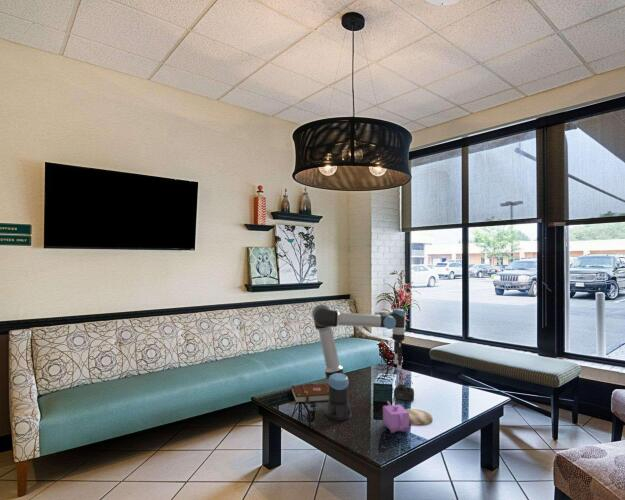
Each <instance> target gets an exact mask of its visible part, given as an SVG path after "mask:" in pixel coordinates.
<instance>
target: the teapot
mask: <svg viewBox="0 0 625 500" xmlns="http://www.w3.org/2000/svg"><path fill="white" fill-rule="evenodd" d="M386 403H387V405H383V406H382V423H383V424H384V425H385V428H387V429H389V432H390V433H391V434H394V433H396V432H401V433H406V432H405V431H410V424H409V413H408V412H407V411H406V410H405V409H406V408H404V407H403V406H402V405H401V404H393V405H392V404H391V402H390V401H389V400H387V401H386Z"/></svg>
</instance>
